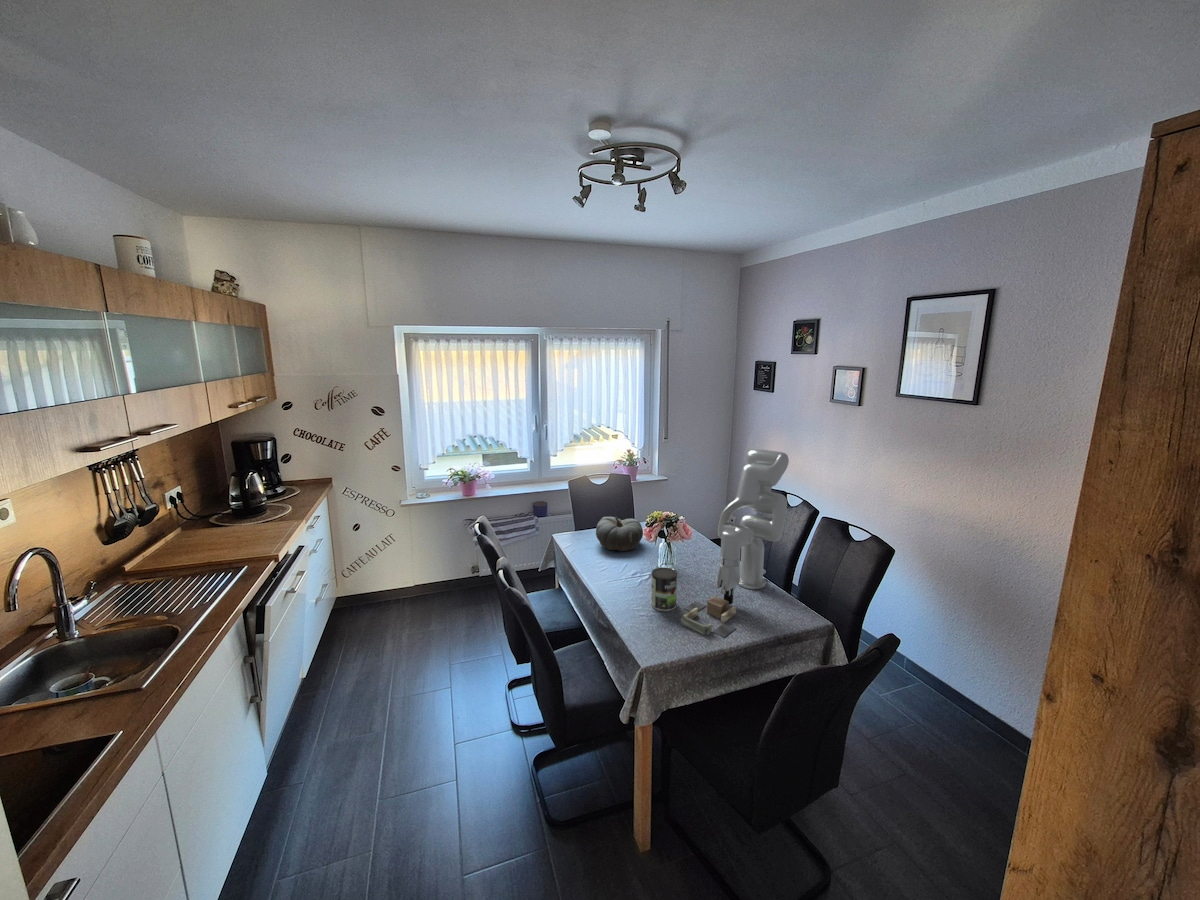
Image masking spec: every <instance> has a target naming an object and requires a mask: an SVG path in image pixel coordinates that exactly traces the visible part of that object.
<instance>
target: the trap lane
mask: <svg viewBox="0 0 1200 900" xmlns="http://www.w3.org/2000/svg"><path fill="white" fill-rule="evenodd" d="M714 597H715V596H711V597H710V598H708V599H707V600H706V601H707V602H708V601H709V600H711V599H712V598H714ZM707 602H706V603H707ZM705 608H707V604H706V605H705V604H703V603H701V602H699V601H696V600H695V601H694V602H692V603H690V604H689V605H687V606H686V607H684V609H683V610H685V611H687V612H686V613H685V614H684V615H682V616H681V619H680V620H681V623H680V624H681V625H682V626H685V627H687V628H689V629H691V630H693V631H695V632H697V633H700V634H701V635H704V636H708V635H709V634H710V633H713V634H715V635H718V636H719V637H722V638H726V637H728V636H729V635H730V634H731V633H733V632H734V631H735V630H737V627H734V626H732V625H730V624H727V623H725V622H727V621H728V620H729V619H731V618H732V617H734V616H735V615H736V614H737V606H735V605H733V606H732V607H730V608H729V610H727V611H726V612H725V613H723V614H722V615H721V619H720V623H721V625H719V626H718V627H717V628H715V629H714V630H713V631H712V629H713V627H712V623H710V622H709V623H708V624H706V625H705V624H702V623H700V622H698V621H696V620H693V619H695V618H697V617H698V615H699V612H700V611H701V610H703V609H705Z"/></svg>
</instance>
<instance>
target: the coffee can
mask: <svg viewBox="0 0 1200 900" xmlns="http://www.w3.org/2000/svg"><path fill="white" fill-rule="evenodd" d="M677 576H678V572H677V571H676V570H675V569H672V568H670V567H656V568H654V569H652V571H651V607H652V608H653V609H654V610H656V611H659V612H660V611H661V612H671V611H673V610H675V609H676V608H677V585H678V584H677V582H678V580H677V579H678V577H677Z"/></svg>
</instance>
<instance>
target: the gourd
mask: <svg viewBox="0 0 1200 900" xmlns="http://www.w3.org/2000/svg"><path fill="white" fill-rule="evenodd" d="M643 535H644V528H643V527H642V524H641V522H640V521H639V520H637V519H635V518H625V519H620V518H618V516H603V517H602V518H600V520H599V521H598V523H597V524H596V528H595V537H596V538H597V540H598V542H599V544H600V545H602V547H603V548H604V549H607V550H609V551H615V550H617V551H619V552H626V551H631V550H632V549H634V548H636V547H637V546H638V545H639V544H640V543H641V540H642V539H643Z"/></svg>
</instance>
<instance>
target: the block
mask: <svg viewBox="0 0 1200 900" xmlns="http://www.w3.org/2000/svg"><path fill="white" fill-rule="evenodd" d="M713 597H714V598H712V599H711V600H709V601H708V602H706V614H709V615H710V616H713V617H714V618H718V619H720V620H721V615H722V614H723V613H725V612H726V611H727V610H729V609H730V608H729V607H730V605H729V601H727V600H724V598H722V597H719V596H713Z"/></svg>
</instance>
